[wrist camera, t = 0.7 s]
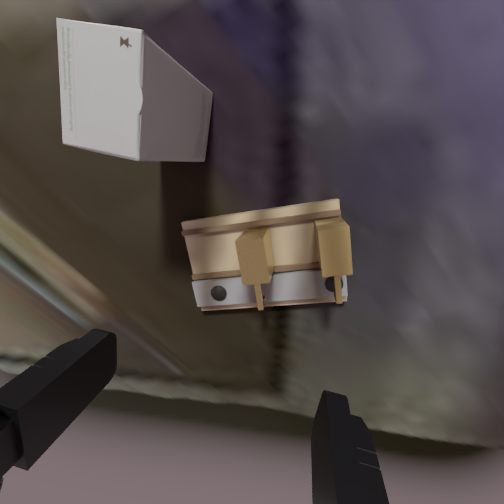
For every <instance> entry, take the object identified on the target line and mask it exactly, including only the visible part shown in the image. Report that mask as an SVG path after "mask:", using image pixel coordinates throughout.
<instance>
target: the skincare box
mask: <svg viewBox="0 0 504 504" xmlns="http://www.w3.org/2000/svg"><path fill="white" fill-rule="evenodd" d="M56 21H57V38H58V56H59V76H60V96H61V116H62V139H63V144H66V145H69V146H73V147H77V148H81V149H85V150H89V151H94V152H98V153H102V154H107V155H111V156H116V157H121V158H125V159H130V160H135V161H182V162H204V161H205V156H206V148H207V140H208V132H209V123H210V115H211V107H212V97H213V93H212V92H211V91H210V90H209V89H208V88H207V87H206V86H204V85H203V84H202V83H201V82H200V81H198V80H197V79H196V78H195V77H194V76H193V75H192V74H190V73H189V72H188V71H187V70H186V69H184V68H183V67H182V66H181V65H180V64H179V63H178V62H176V61H175V60H174V59H173V58H172V57H171V56H169V55H168V54H167V53H166V52H165V51H164V50H162V49H161V48H160V47H159V46H158V45H157V44H156V43H155V42H153V41H152V40H151V39H150V38H149V37H148V36H147V35H146V34H145V32H144V31H143V30H141V29H135V28H128V27H121V26H113V25H105V24H97V23H89V22H81V21H74V20H66V19H60V18H56Z"/></svg>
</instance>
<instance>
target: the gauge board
mask: <svg viewBox="0 0 504 504" xmlns="http://www.w3.org/2000/svg"><path fill="white" fill-rule="evenodd" d="M340 215H341V210H340V204H339V199H330V200H324V201H317V202H310V203H303V204H296V205H289V206H282V207H275V208H269V209H262V210H255V211H248V212H241V213H234V214H227V215H220V216H214V217H207V218H200V219H193V220H186V221H183V222H181V224H182V228H183V231H181V233H182V236H184V237H185V241H186V246H187V250H188V254H189V258H190V263H191V267H192V271H193V275H192V280H194V281H193V282H192V285H193V290H194V294H195V298H196V302H197V306H198V307H201V309H202V311H209V310H224V309H238V308H253V307H258V305H257V300H256V294H255V288H254V284H252V285H243V283H242V277H241V272H240V267H239V261H238V256H237V250H236V245H235V241H236V240H237V238H238V237H239V236H240V235H241V234H242V233H243V232H244V231H245V230H246V229H254V228H262V227H269V228H270V235H271V242H272V249H273V255H274V262H275V266H274V270H273V274H272V277H271V281H270V283H264V284H260V285H261V291H262V296H265V297H266V304H265V307H267V306H282V305H297V304H311V303H326V302H336V303H337V304H342V303H343V301H347V296H348V294H347V281H346V275H353V270H352V256H351V241H350V227H349V225H348V224H347V223H346V222H345V221H344V220H343V219H342V218H341V217H340Z"/></svg>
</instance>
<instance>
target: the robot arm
mask: <svg viewBox="0 0 504 504" xmlns="http://www.w3.org/2000/svg"><path fill="white" fill-rule="evenodd" d="M116 367H117V340H116V335H115V334H114V333H111V332H107V331H104V330H100V329H93V330H91V331H90V332H88V333H87V334H86V335H84V336H83V337H82V338H80V339H77V338H76V339H74V340H72V341H69V342H67V343H65V344H62V345H60V346H59V347H57V348H56V349H54V350H53V351H52V352H50V353H49V354H47V355H46V357H45V358H44V357H43V358H42V359H40V360H39V361H38V362H36V363H35V364H34V366H31V367H29V368H28V369H26V370H25V371H24V372H22V373H21V374H19V375H18V376H17V377H15V378H14V379H12V380H11V381H10V382H8V383H7V384H5V385H4V386H3V387H1V388H0V491H1V487H2V484H3V475H4V474H5V473H6V472H7V471H8V470H9V469H10V468H11V467H12V466H16V467H19V468H21V469H24V470H28V469H29V468H30V467H31V466H32V465H33V464H34V463H35V462H36V461H37V459H39V458H40V456H41V455H42V454H43V453H44V452H45V451H46V450H47V449H48V448H49V447H50V446H51V445H52V443H53V442H54V441H55V440H56V439H57V438H58V437H59V436H60V435H61V434H62V433H63V432H64V431H65V429H66V428H67V427H68V426H69V425H70V424H71V423H72V422H73V421H74V420H75V419H76V418H77V416H78V415H79V414H80V413H81V412H82V411H83V410H84V409H85V408H86V407H87V405H88V404H89V403H90V402H91V401H92V400H93V399H94V398H95V397H96V396H97V395H98V394H99V393H100V392H101V390H102V389H103V388H104V387H105V386H106V385H107V384H108V383H109V382H110V380H111V379H112V377H113V375H114V373H115V371H116ZM311 457H312V494H313V495H312V496H313V504H389V501H388V497H387V493H386V489H385V486H384V482H383V478H382V474H381V471H380V470H379V468H380V466H379V462H378V458H377V455H376V450H375V447H374V443H373V439H372V435H371V433H370V431H369V429H368V428H367V426H366V424H365V423H364V421H363V420H362V418H361V417H358V416H354V415H351V414H350V409H349V404H348V399H347V397H346V396H345V395H341V394H337V393H333V392H330V391H326V390H324V391H323V393H322V396H321V399H320V402H319V405H318V409H317V412H316V415H315V419H314V422H313V427H312V435H311Z"/></svg>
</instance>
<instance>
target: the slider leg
mask: <svg viewBox="0 0 504 504" xmlns="http://www.w3.org/2000/svg"><path fill="white" fill-rule="evenodd" d="M235 245H236V250H237V256H238V261H239V267H240V272H241V277H242V283H243V285H252V284H254V288H255V294H256V300H257V305H258V310H264V307H265V304H266V297H265V296H262V291H261V285H260V284H264V283H270V281H271V277H272V274H273V270H274V266H275V262H274V255H273V249H272V242H271V235H270V228H269V227H262V228H254V229H246V230H245V231H244V232H243V233H242V234H241V235H240V236H239V237H238V238H237V240H236V241H235Z"/></svg>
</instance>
